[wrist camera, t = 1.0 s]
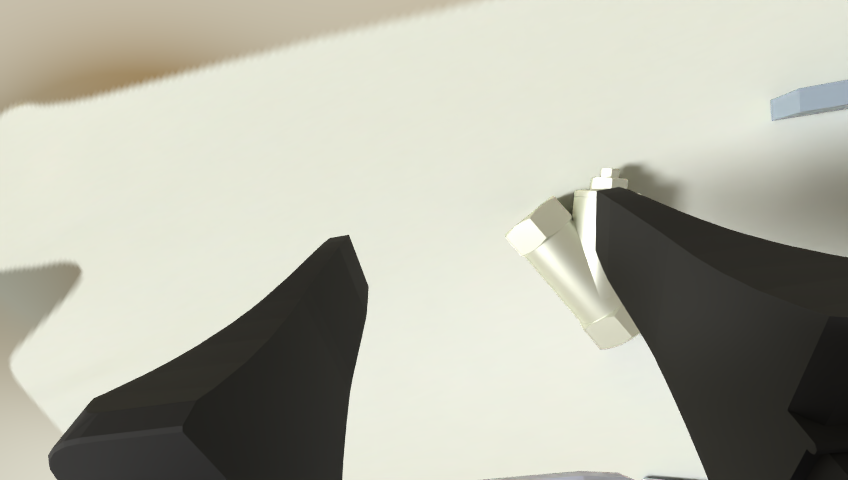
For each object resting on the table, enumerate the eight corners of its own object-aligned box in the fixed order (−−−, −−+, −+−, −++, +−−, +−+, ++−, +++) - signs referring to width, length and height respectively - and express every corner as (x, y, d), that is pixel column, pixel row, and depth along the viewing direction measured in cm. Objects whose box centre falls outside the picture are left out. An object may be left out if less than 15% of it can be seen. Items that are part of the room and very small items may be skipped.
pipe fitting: (598, 158, 23) (507, 232, 25) (610, 148, 19) (502, 236, 21) (696, 265, 22) (594, 335, 24) (729, 276, 18) (605, 358, 20)
